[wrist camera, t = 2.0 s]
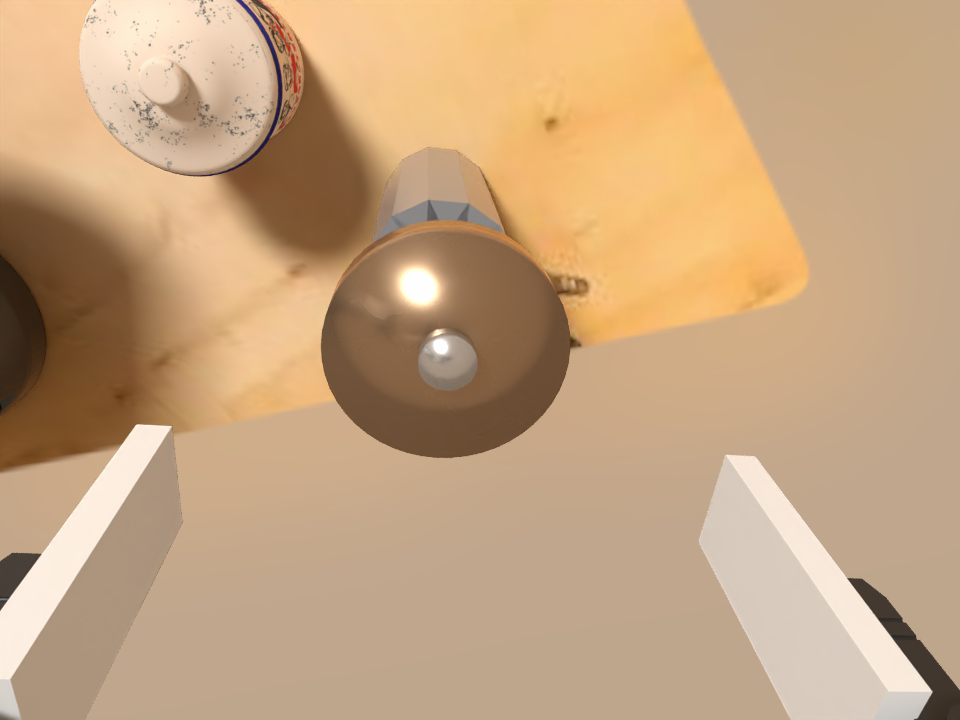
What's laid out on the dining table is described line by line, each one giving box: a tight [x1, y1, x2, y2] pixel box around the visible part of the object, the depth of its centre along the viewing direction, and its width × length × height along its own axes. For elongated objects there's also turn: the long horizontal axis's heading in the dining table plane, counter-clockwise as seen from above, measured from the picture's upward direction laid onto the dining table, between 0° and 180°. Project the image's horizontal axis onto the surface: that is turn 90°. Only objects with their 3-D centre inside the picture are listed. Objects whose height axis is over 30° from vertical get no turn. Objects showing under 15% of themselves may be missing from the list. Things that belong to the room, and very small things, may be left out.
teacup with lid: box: [79, 0, 304, 176], centre depth 34 cm, size 12×9×12 cm
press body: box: [372, 147, 506, 243], centre depth 38 cm, size 7×9×14 cm
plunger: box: [321, 220, 570, 458], centre depth 29 cm, size 9×9×14 cm
